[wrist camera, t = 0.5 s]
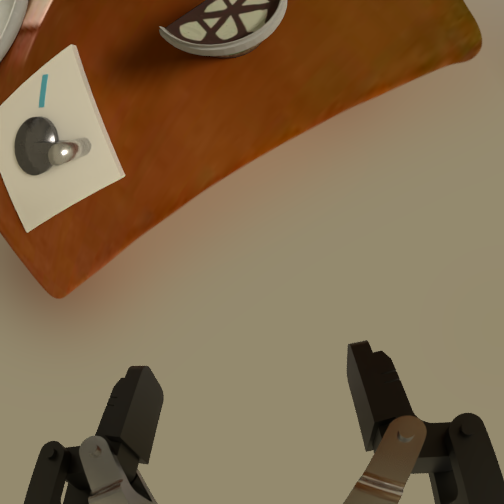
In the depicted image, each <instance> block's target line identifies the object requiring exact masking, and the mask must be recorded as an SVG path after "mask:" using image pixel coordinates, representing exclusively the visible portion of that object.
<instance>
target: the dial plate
mask: <svg viewBox="0 0 504 504" xmlns="http://www.w3.org/2000/svg"><path fill="white" fill-rule="evenodd" d="M38 116H42V117H46V118H48V119H49V120H50V121H51V122H52V123H53V124H54V126H55V128H56V130H57V133H58V137H59V140H64V141H70V140H73V139H78V138H82V137H85V138H87V139H89V141H90V143H91V150H90V152H89V153H88V154H87V155H86V156H83V157H80V158H77V159H75V160H72V161H69V162H67V163H64V164H61V165H59V166H54V165H53V166H52V167H51V168H50V169H49V170H48V171H46V172H44V173H42V174H40V175H29V174H27V173H26V172H24V171H23V170H22V169H21V167H20V166H19V164H18V162H17V159H16V156H15V147H14V146H15V138H16V134H17V132H18V130H19V128H20V126H21V125H22V124H23V123H24V122H25V121H26V120H27V119H29V118H32V117H38ZM0 173H1V175H2V178H3V181H4V183H5V186H6V188H7V191H8V193H9V195H10V198H11V200H12V202H13V205H14V207H15V209H16V211H17V213H18V216H19V218H20V220H21V222H22V224H23V226H24V228H25V230H26V232H27V233H28V232H29V231H31V230H32V229H34V228H35V227H37V226H38V225H40V224H42V223H43V222H45V221H46V220H48V219H50V218H51V217H53V216H54V215H56V214H58V213H59V212H61V211H63V210H64V209H66V208H68V207H70V206H71V205H73V204H75V203H77V202H78V201H80V200H82V199H84V198H85V197H87V196H89V195H91V194H93V193H94V192H96V191H98V190H100V189H102V188H104V187H106V186H108V185H110V184H111V183H113V182H115V181H117V180H119V179H121V178H123V177H125V174H124V171H123V169H122V167H121V165H120V162H119V160H118V158H117V155H116V153H115V150H114V148H113V146H112V143H111V141H110V138H109V136H108V133H107V131H106V128H105V126H104V123H103V121H102V118H101V116H100V113H99V111H98V108H97V105H96V103H95V100H94V97H93V94H92V92H91V89H90V86H89V83H88V80H87V78H86V75H85V72H84V69H83V66H82V63H81V60H80V57H79V54H78V50H77V47H76V45H72V44H71V45H70V46H68V47H67V48H65V49H64V50H63V51H61V52H60V53H59V54H58V55H56V56H55V57H54V58H52V59H51V60H50V61H49V62H47V63H46V64H45V65H44V66H43V67H41V68H40V69H39V70H38V71H37V72H35V73H34V74H33V75H32V76H31V77H30V78H29V79H28V80H26V81H25V82H24V83H23V84H22V85H21V86H20V87H19V88H18V89H17V90H16V91H15V92H14V93H13V94H12V95H11V96H10V97H9V98H8V99H7V100H6V101H5V102H4V103H3V104H2V105H1V106H0Z"/></svg>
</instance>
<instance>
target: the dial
mask: <svg viewBox="0 0 504 504" xmlns="http://www.w3.org/2000/svg"><path fill="white" fill-rule="evenodd" d="M14 147H15V156H16V159H17V162H18V164H19V166H20V167H21V169H22V170H23V171H24V172H26V173H27V174H29V175H40V174H42V173H44V172H46V171H48V170H49V169H50V168H51V167H52V166H53V165H54V166H59V165H61V164H64V163H67V162H69V161H72V160H75V159H77V158H80V157H83V156H86V155H87V154H88V153H89V152H90V150H91V143H90V141H89V139H87V138H85V137H82V138H78V139H73V140H70V141H64V140H59V137H58V133H57V130H56V128H55V126H54V124H53V123H52V122H51V121H50V120H49V119H48V118H46V117H42V116H38V117H32V118H29V119H27V120H26V121H25V122H24V123H23V124H22V125H21V126H20V128H19V130H18V132H17V134H16V138H15V146H14Z"/></svg>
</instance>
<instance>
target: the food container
mask: <svg viewBox="0 0 504 504" xmlns="http://www.w3.org/2000/svg"><path fill="white" fill-rule="evenodd" d="M286 8H287V0H206V1H204V2H203V3H201V4H200V5H198V6H197V7H195V8H194V9H192V10H191V11H189V12H188V13H186V14H185V15H183V16H182V17H180V18H179V19H177V20H176V21H175V22H173V23H172V24H170V25H169V26H167V27H166V28H163V27H161V26H159V27H160V28H161V29H159V32H160V35H161V36H162V37H163V38H164V39H165V40H166V41H167V42H169V43H170V44H171V45H173V46H174V47H176V48H178V49H180V50H182V51H185V52H188V53H192V54H196V55H202V56H213V57H218V58H236V57H239V56H242V55H245V54H247V53H249V52H251V51H253V50H254V49H255V48H257V47H258V46H259V45H260V44H261V42H262V41H263V40H264V39H266V38H267V37H268V36H269V35H270V34H271V33H272V32H273V31H274V30H275V29H276V28H277V26H278V25H279V24H280V22H281V20H282V18H283V17H284V14H285V11H286Z"/></svg>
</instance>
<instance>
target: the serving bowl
mask: <svg viewBox="0 0 504 504" xmlns="http://www.w3.org/2000/svg"><path fill="white" fill-rule="evenodd" d="M27 5H28V0H0V61H1V60H2V59H3V57H4V56H5V55H6V53H7V52H8V50H9V48H10V47H11V45H12V43H13V42H14V40H15V38H16V36H17V34H18V32H19V29H20V27H21V25H22V22H23V19H24V16H25V13H26V9H27Z"/></svg>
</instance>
